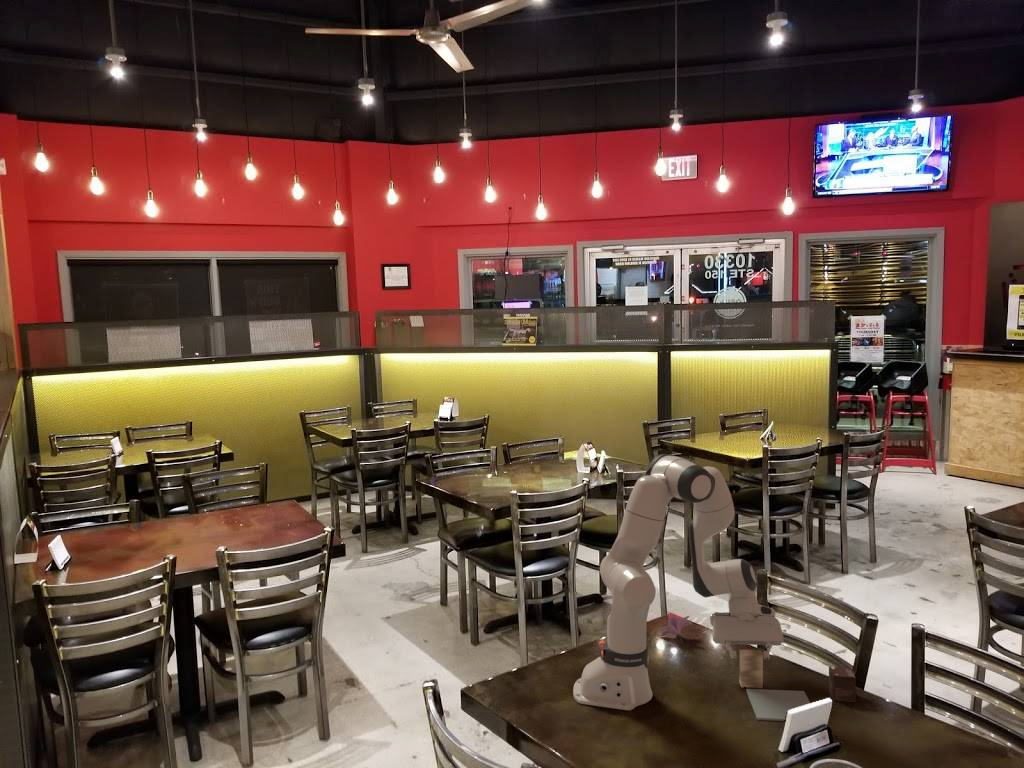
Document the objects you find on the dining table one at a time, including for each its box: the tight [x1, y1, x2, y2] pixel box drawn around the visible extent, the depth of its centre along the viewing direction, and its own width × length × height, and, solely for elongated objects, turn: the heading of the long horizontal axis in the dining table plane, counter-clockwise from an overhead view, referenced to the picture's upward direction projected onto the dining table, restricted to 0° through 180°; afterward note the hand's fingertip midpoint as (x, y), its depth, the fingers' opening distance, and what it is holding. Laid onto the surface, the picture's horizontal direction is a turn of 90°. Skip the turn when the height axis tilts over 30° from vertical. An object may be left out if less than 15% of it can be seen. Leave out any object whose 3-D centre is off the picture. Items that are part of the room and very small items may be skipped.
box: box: [828, 666, 857, 703], centre depth 211 cm, size 6×6×7 cm
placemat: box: [745, 688, 811, 722], centre depth 207 cm, size 16×16×1 cm
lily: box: [658, 615, 694, 645], centre depth 250 cm, size 12×12×10 cm
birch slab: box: [738, 649, 764, 689], centre depth 218 cm, size 6×3×10 cm, turn 83°
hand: (750, 658), depth 219 cm, fingers open, 8 cm apart
